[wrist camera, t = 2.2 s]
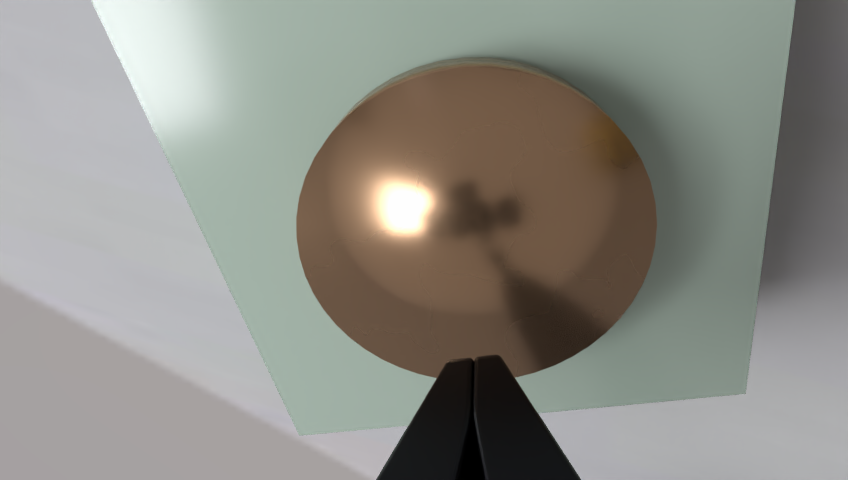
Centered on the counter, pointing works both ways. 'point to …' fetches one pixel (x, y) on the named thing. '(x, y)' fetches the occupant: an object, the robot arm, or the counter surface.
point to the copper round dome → (476, 218)
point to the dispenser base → (448, 39)
